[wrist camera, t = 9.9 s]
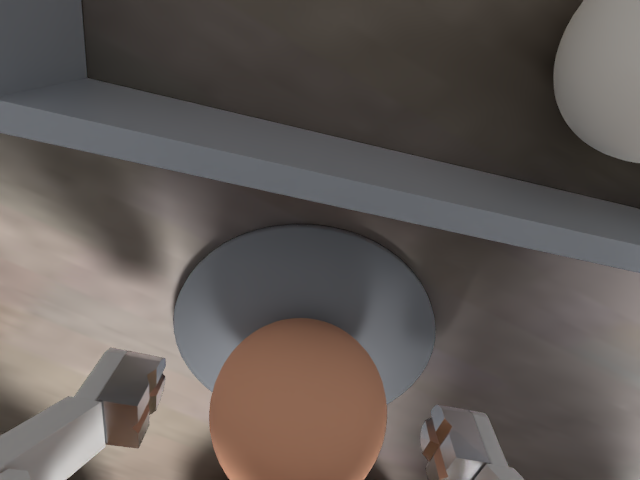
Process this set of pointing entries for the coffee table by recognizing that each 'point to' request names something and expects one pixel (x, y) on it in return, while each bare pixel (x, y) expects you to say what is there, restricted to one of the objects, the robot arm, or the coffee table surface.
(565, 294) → the coffee table surface
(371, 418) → the terracotta ball
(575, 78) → the cream ball
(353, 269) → the pad
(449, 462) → the robot arm
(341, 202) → the grey square frame
